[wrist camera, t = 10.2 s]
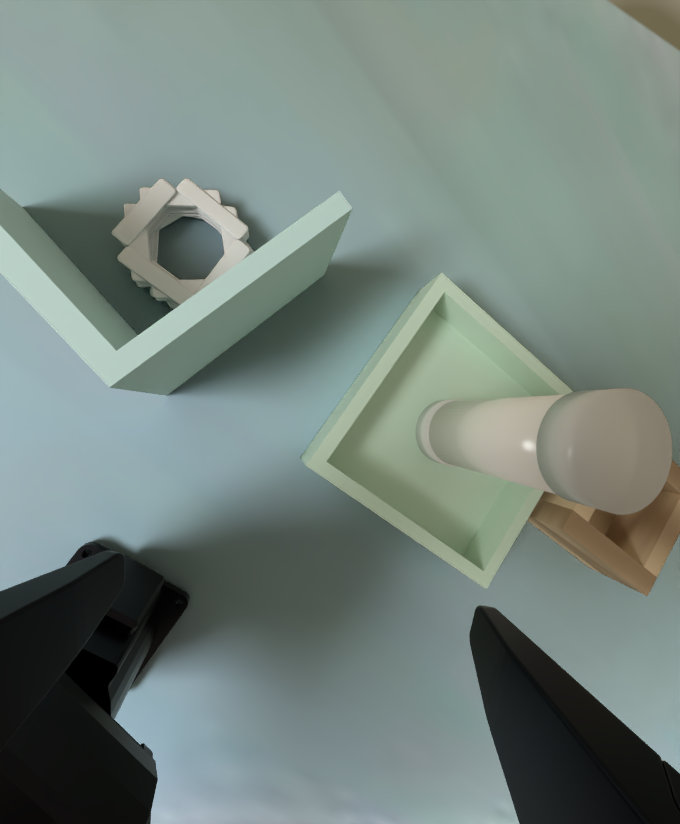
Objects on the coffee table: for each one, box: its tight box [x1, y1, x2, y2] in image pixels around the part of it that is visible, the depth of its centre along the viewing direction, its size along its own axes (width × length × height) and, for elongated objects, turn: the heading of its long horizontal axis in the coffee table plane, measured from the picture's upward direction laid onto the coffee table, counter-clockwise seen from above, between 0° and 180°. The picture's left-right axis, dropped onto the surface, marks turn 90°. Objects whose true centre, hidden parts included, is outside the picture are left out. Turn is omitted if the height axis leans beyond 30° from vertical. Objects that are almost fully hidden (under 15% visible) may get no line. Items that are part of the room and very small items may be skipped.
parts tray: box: [300, 273, 573, 589], centre depth 21 cm, size 14×14×3 cm
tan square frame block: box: [527, 460, 680, 596], centre depth 23 cm, size 8×8×4 cm
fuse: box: [416, 388, 672, 515], centre depth 16 cm, size 4×4×11 cm
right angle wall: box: [0, 178, 352, 395], centre depth 16 cm, size 12×12×8 cm
